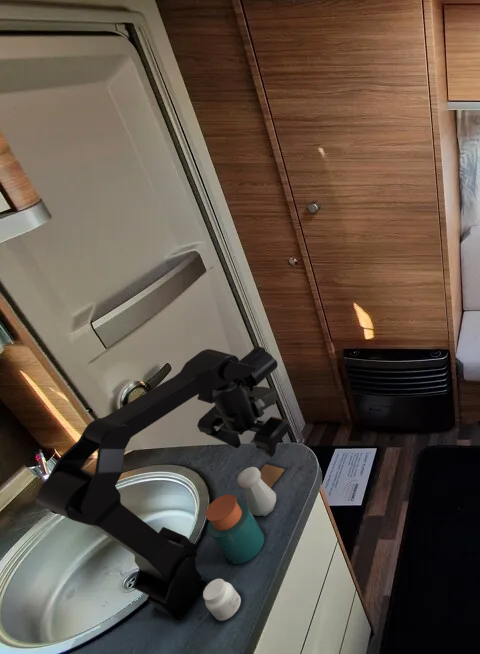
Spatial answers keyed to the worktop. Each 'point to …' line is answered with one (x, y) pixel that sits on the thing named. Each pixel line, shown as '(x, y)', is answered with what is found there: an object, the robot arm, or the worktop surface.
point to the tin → (239, 537)
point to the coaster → (270, 474)
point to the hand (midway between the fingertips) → (255, 450)
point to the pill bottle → (221, 599)
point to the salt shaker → (256, 492)
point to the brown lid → (224, 512)
